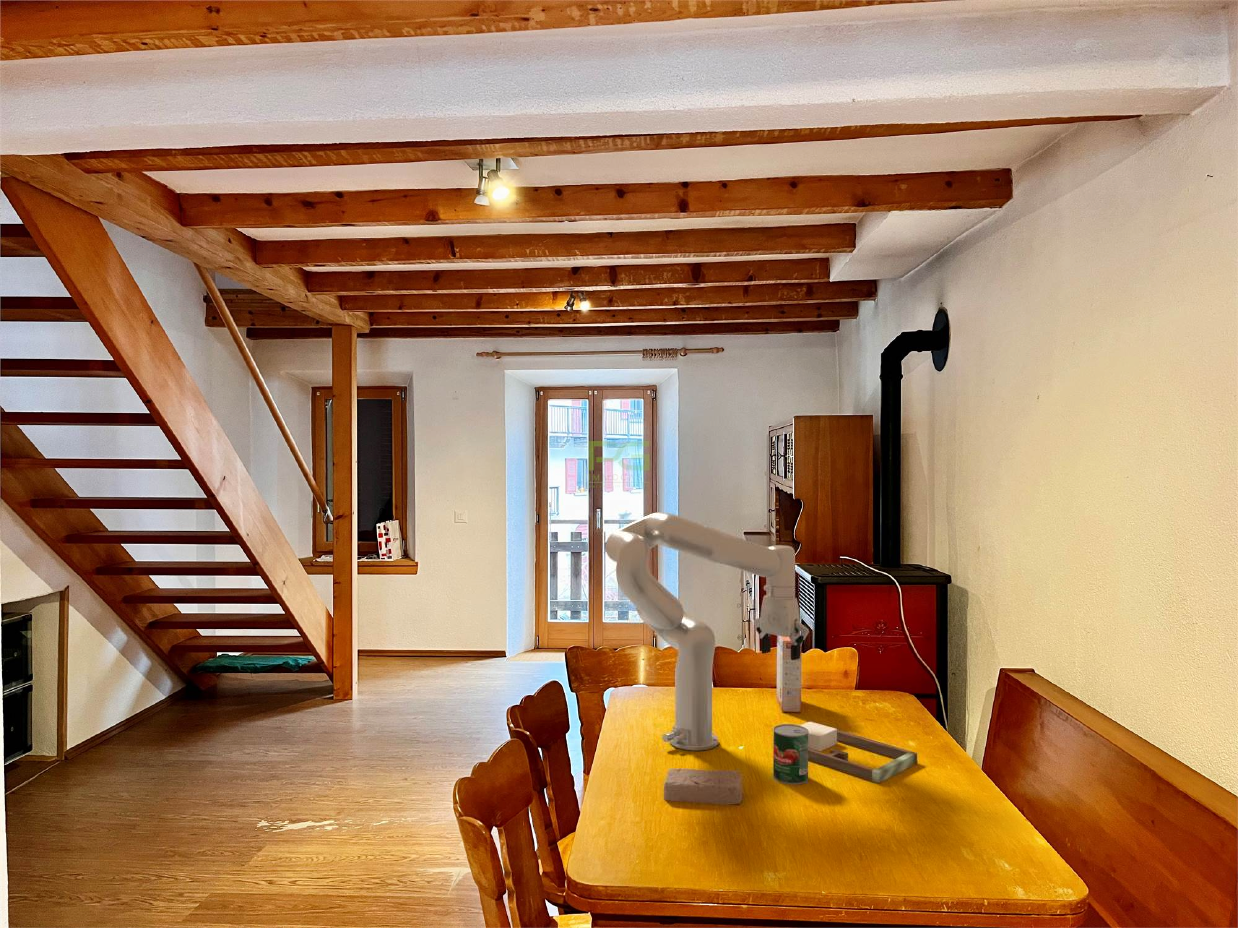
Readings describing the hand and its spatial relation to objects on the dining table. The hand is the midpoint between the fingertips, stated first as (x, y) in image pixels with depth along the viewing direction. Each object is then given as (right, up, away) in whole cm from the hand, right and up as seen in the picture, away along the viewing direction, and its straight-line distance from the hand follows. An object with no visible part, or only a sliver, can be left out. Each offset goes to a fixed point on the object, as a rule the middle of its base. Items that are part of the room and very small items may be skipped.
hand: (780, 655), depth 204 cm
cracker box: (+7, -21, +23) cm, 32 cm away
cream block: (+7, -21, -8) cm, 23 cm away
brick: (-25, -21, -40) cm, 51 cm away
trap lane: (+12, -20, -17) cm, 29 cm away
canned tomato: (-4, -20, -30) cm, 37 cm away
